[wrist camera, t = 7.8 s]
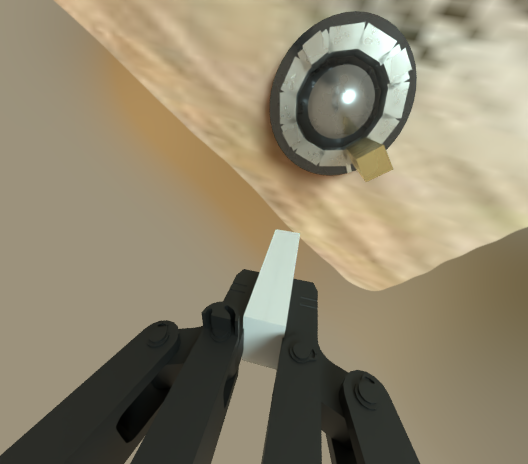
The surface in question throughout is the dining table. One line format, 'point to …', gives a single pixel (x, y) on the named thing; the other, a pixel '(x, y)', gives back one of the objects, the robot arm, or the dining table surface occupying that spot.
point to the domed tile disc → (390, 104)
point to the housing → (338, 95)
